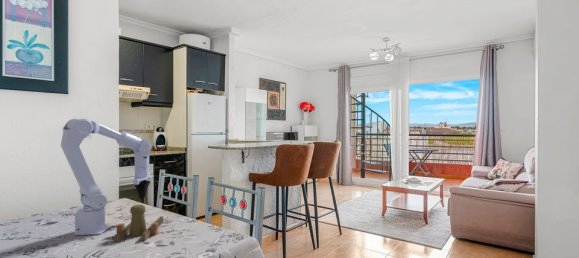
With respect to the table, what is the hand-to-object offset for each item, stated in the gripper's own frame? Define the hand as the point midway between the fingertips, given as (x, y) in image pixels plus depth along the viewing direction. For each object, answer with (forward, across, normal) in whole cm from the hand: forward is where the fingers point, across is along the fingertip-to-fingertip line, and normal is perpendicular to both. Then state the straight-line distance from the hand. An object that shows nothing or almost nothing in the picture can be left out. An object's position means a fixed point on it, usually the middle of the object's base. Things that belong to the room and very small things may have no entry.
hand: (142, 197), depth 137 cm
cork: (+10, -18, -5) cm, 21 cm away
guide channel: (+9, -16, -5) cm, 19 cm away
